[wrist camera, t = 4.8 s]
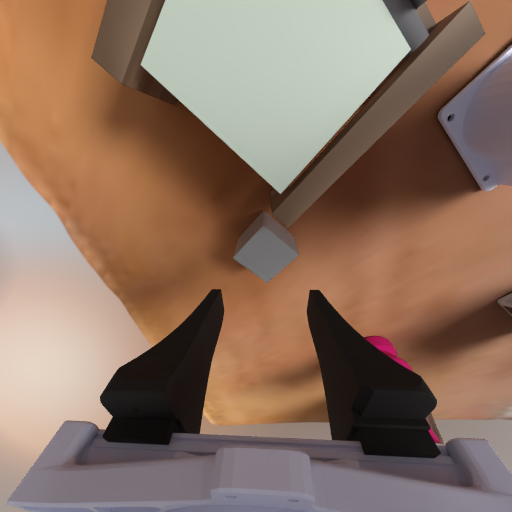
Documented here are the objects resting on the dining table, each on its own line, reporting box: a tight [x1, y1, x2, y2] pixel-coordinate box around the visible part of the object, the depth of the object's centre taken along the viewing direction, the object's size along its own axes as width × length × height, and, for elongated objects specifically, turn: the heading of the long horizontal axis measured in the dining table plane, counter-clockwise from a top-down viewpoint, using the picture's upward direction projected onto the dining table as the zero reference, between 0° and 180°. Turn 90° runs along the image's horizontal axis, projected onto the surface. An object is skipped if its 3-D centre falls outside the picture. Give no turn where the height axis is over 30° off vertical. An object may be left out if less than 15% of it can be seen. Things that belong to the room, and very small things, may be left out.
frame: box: [91, 0, 485, 228], centre depth 13 cm, size 14×13×7 cm
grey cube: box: [233, 210, 299, 283], centre depth 21 cm, size 4×4×4 cm
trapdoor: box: [141, 0, 429, 194], centre depth 9 cm, size 10×12×2 cm
